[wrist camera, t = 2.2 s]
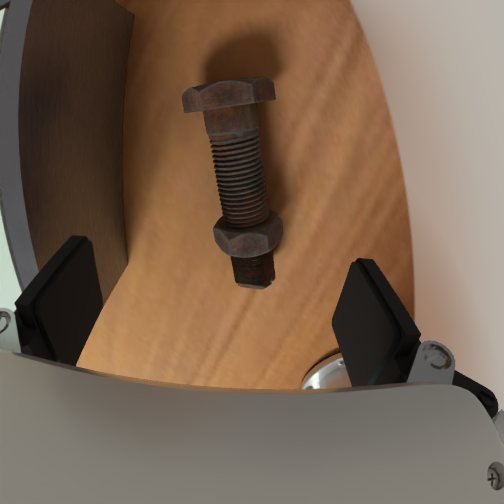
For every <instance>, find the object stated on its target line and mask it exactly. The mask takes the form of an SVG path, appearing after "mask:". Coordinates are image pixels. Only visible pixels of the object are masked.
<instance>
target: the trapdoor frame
mask: <svg viewBox="0 0 504 504" xmlns="http://www.w3.org/2000/svg"><path fill="white" fill-rule="evenodd" d="M5 8H7V9H9V10H8V15H7V19H6V24H5V29H4V34H3V40H2V46H1V53H0V186H1V193H2V200H3V206H4V212H5V217H6V222H7V227H8V232H9V236H10V241H11V245H12V249H13V253H14V257H15V260H16V264H17V268H18V271H19V274H20V278H21V281H22V284H23V287H24V290H25V288H26V287H27V286H28V285H29V283H30V282H31V281H32V280H33V279H34V277H35V276H36V275H37V274H38V273H39V271H40V270H41V269H42V268H43V267H44V265H45V264H46V263H47V262H48V261H49V260H50V259H51V257H52V256H53V255H54V254H55V253H56V252H57V251H58V250H59V249H60V247H61V246H62V245H63V244H64V243H65V242H66V241H67V240H68V239H69V238H70V237H71V236H72V235H78V236H86V237H87V238H88V240H90V241H91V242H92V244H93V250H94V256H95V262H96V268H97V273H98V278H99V283H100V288H101V293H102V297H103V307H104V305H105V303H106V301H107V299H108V298H109V296H110V294H111V292H112V291H113V289H114V287H115V285H116V284H117V282H118V280H119V279H120V277H121V275H122V273H123V272H124V270H125V268H126V267H127V265H128V259H127V249H126V237H125V224H124V207H123V181H122V136H123V110H124V94H125V82H126V71H127V62H128V53H129V45H130V38H131V32H132V25H133V19H134V14H132V13H131V12H129V11H128V10H127V9H125V8H124V7H122V6H121V5H119V4H117V3H116V2H114V1H113V0H0V11H1V10H3V9H5Z"/></svg>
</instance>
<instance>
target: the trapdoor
mask: <svg viewBox="0 0 504 504" xmlns="http://www.w3.org/2000/svg"><path fill="white" fill-rule="evenodd" d="M8 10H9V9H7V8H5V9H3V10H1V11H0V53H1V46H2V40H3V34H4V29H5V24H6V19H7V15H8ZM23 291H24V287H23V284H22V281H21V278H20V274H19V271H18V268H17V264H16V260H15V257H14V253H13V249H12V245H11V241H10V236H9V232H8V227H7V222H6V217H5V212H4V206H3V200H2V193H1V186H0V308H8V309H11V310H12V311H13V312H14V311H15V310H16V306H15V304H14V303H15V301H16V300H17V299H18V297H19V296H20V295H21V294H22V292H23Z"/></svg>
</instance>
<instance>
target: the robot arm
mask: <svg viewBox="0 0 504 504" xmlns="http://www.w3.org/2000/svg"><path fill="white" fill-rule="evenodd" d="M14 304H15V306H16V310H15V311H14V312H13V311H12V310H11V309H8V308H0V504H504V411H503V410H500V411H499V412H498V402H497V399H496V397H495V395H494V394H493V392H491V391H490V390H489V389H488V388H486V387H484V386H482V385H481V384H479V383H477V382H475V381H473V380H472V379H470V378H468V377H466V376H465V375H463V374H461V373H459V372H457V371H456V370H455V359H454V356H453V355H452V353H451V351H450V350H449V349H448V348H446V346H444V345H443V344H441V343H439V342H436V341H430V340H429V341H424V342H423V343H421V342H420V341H419V338H420V336H421V333H420V332H419V330H418V328H417V326H416V325H415V323H414V321H413V320H412V318H411V317H410V315H409V313H408V312H407V310H406V308H405V307H404V305H403V304H402V302H401V301H400V299H399V297H398V296H397V294H396V293H395V291H394V290H393V288H392V287H391V285H390V284H389V282H388V280H387V279H386V277H385V276H384V275H383V273H382V272H381V270H380V269H379V267H378V266H377V264H376V263H375V261H374V260H373V259H364V258H358V259H357V260H356V261H355V262H352V263H351V265H350V268H349V271H348V274H347V278H346V281H345V283H344V286H343V289H342V292H341V295H340V298H339V301H338V304H337V307H336V309H335V312H334V315H333V318H332V327H333V330H334V333H335V336H336V339H337V342H338V345H339V348H340V351H341V352H340V353H338V354H335V355H333V356H331V357H329V358H327V359H325V360H323V361H322V362H321V363H319V364H318V365H316V366H315V367H314V368H313V369H312V370H311V371H309V373H308V374H307V375H306V376H305V378H304V380H303V382H302V384H301V389H293V390H274V389H238V388H220V387H206V386H194V385H184V384H175V383H167V382H159V381H152V380H145V379H138V378H132V377H126V376H120V375H114V374H109V373H104V372H99V371H94V370H89V369H85V368H80V367H76V364H77V361H78V359H79V357H80V355H81V352H82V350H83V348H84V346H85V343H86V341H87V339H88V337H89V335H90V333H91V331H92V329H93V326H94V324H95V322H96V320H97V318H98V316H99V314H100V312H101V310H102V308H103V297H102V293H101V288H100V283H99V278H98V273H97V268H96V262H95V256H94V250H93V244H92V242H91V241H90V240H88V238H87V237H86V236H78V235H72V236H71V237H70V238H69V239H68V240H67V241H66V242H65V243H64V244H63V245H62V246H61V247H60V249H59V250H58V251H57V252H56V253H55V254H54V255H53V256H52V257H51V259H50V260H49V261H48V262H47V263H46V264H45V265H44V267H43V268H42V269H41V270H40V271H39V273H38V274H37V275H36V276H35V277H34V279H33V280H32V281H31V282H30V283H29V285H28V286H27V287H26V288H25V290H24V291H23V292H22V294H21V295H20V296H19V297H18V299H17V300H16V301H15V303H14Z"/></svg>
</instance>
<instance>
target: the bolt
mask: <svg viewBox="0 0 504 504" xmlns="http://www.w3.org/2000/svg"><path fill="white" fill-rule="evenodd" d="M275 99H276V97H275V90H274V83H273V82H272V81H271V80H269V79H268V78H266V77H255V78H244V79H236V80H226V81H220V82H215V83H210V84H205V85H200V86H196V87H192V88H188V89H187V90H186V91H185V92H184V93H183V95H182V101H183V107H184V112H185V113H188V112H197V111H203V114H204V120H205V125H206V131H207V134H208V135H209V139H210V143H211V144H213V145H211V148H212V149H214V150H212V152H211V153H213V154H214V155H213V158H214V159H215V160H214V161H213V163H214V164H215V166H214V168H215V169H216V170H215V173H216V174H217V175H216V178H217V181H216V182H217V183H218V185H217V186H218V188H219V189H218V192H220V193H219V196H220V197H221V198H220V201H221V206H222V210H223V212H222V213H223V216H222V217H221V218H220V219H219V220H218V221H217V223H216V224H215V226H214V228H213V232H214V237H215V241H216V243H217V244H218V246H219V247H220V248H221V249H222V251H223V252H225V253H226V254H228V255H230V256H231V260H232V266H233V271H234V277H235V281H236V283H238V286H240V287H245V288H253V289H264V288H266V287H268V286H269V285H270V284H272V283H271V282H272V281H274V279H275V269H274V261H273V259H274V258H273V250H272V249H273V248H275V247H276V245H277V244H278V243H279V241H280V239H281V237H282V235H283V226H282V219H281V218H280V217H279V216H278V215H277V214H276V213H275V212H273V211H272V210H269V209H268V207H267V206H268V203H267V198H266V197H267V195H266V189H265V187H266V186H265V184H264V183H265V180H264V178H265V176H264V175H263V174H264V170H262V169H263V165H262V160H261V159H262V156H261V151H260V149H261V146H259V145H260V141H259V139H260V137H259V136H258V134H259V129H258V128H259V126H260V125H259V117H258V109H257V103H258V102H264V101H270V100H275Z"/></svg>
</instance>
